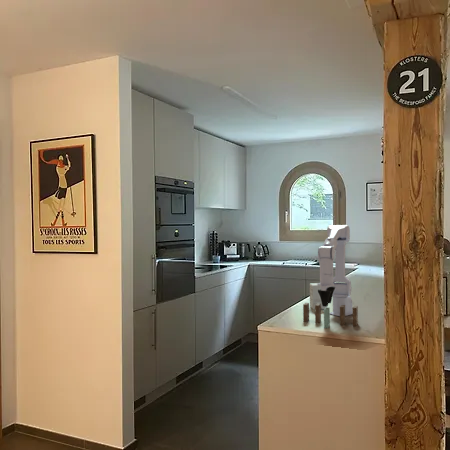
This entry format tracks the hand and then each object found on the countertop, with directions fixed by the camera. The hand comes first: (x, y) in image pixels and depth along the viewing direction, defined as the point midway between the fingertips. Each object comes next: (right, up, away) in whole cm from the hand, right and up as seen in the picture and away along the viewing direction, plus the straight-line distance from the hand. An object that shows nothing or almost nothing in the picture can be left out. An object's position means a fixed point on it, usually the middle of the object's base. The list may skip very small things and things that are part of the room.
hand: (326, 304), depth 204 cm
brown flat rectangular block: (+13, -10, +3) cm, 17 cm away
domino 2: (-2, -10, +10) cm, 14 cm away
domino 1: (-7, -10, +12) cm, 17 cm away
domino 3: (0, -10, 0) cm, 10 cm away
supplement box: (+4, -9, +41) cm, 42 cm away
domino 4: (+8, -10, +5) cm, 14 cm away
